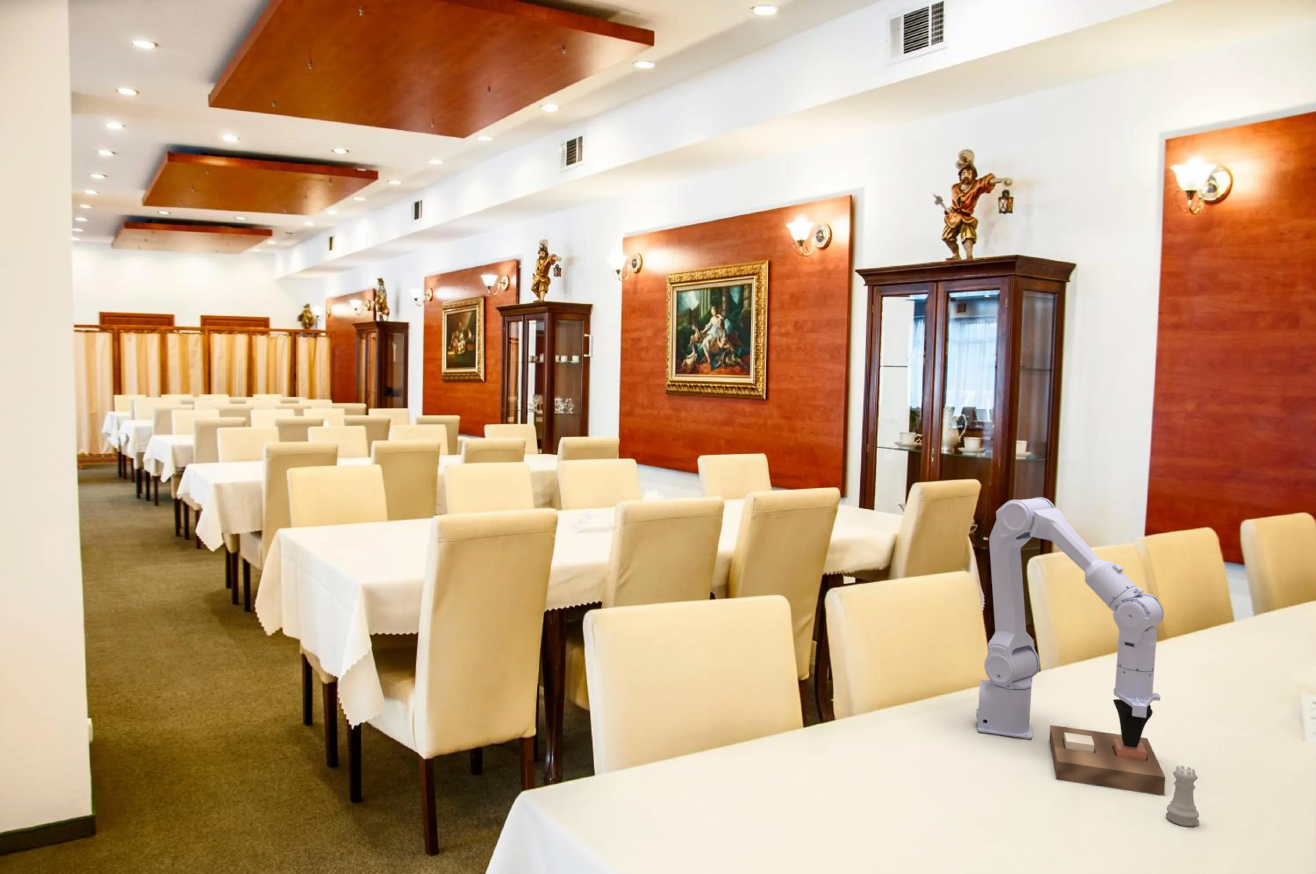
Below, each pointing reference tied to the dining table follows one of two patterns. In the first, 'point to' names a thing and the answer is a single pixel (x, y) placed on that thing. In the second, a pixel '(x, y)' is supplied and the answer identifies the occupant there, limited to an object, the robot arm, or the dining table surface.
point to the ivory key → (1078, 742)
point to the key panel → (1105, 763)
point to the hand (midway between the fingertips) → (1130, 745)
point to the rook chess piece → (1183, 799)
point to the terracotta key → (1129, 750)
